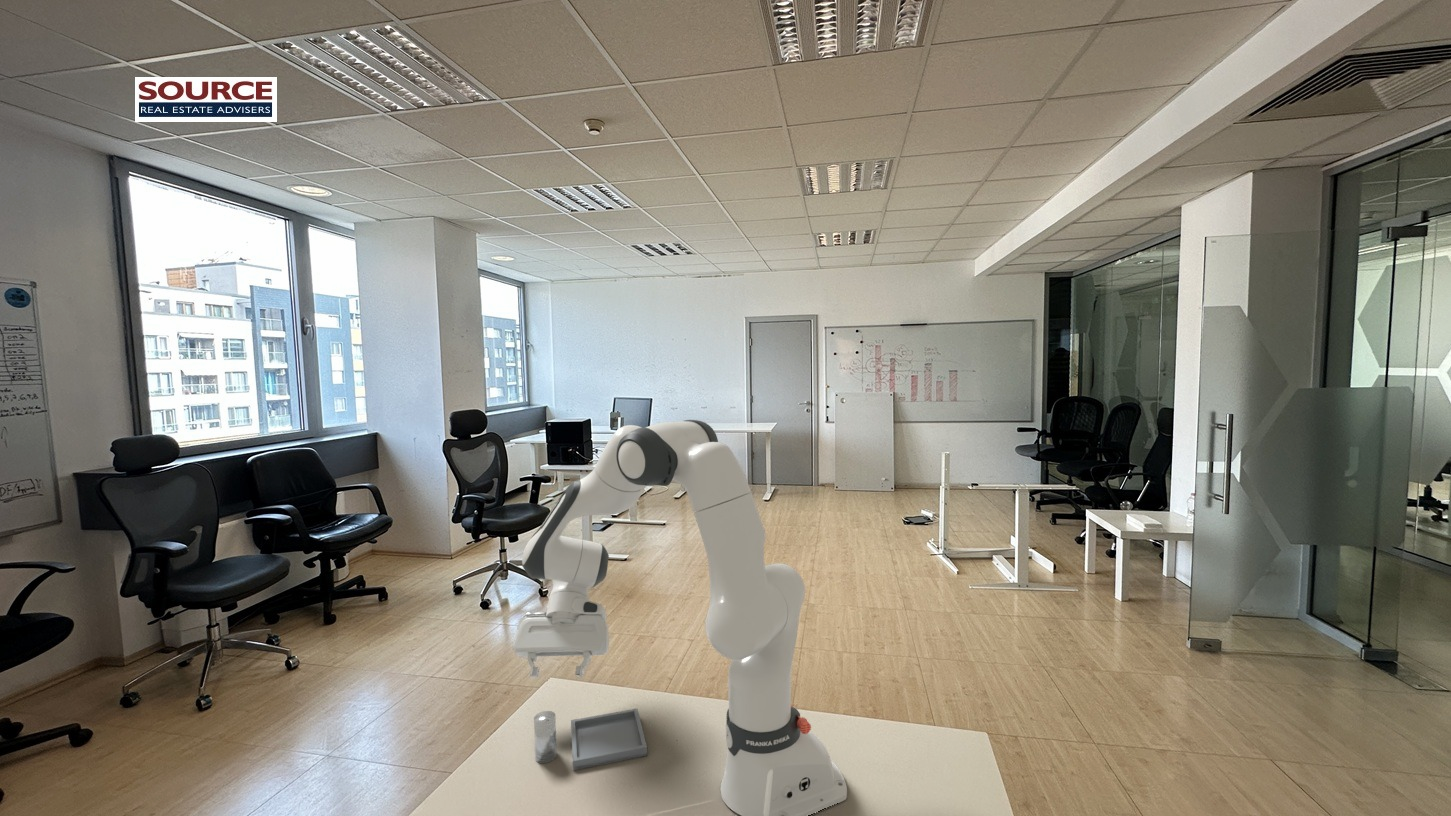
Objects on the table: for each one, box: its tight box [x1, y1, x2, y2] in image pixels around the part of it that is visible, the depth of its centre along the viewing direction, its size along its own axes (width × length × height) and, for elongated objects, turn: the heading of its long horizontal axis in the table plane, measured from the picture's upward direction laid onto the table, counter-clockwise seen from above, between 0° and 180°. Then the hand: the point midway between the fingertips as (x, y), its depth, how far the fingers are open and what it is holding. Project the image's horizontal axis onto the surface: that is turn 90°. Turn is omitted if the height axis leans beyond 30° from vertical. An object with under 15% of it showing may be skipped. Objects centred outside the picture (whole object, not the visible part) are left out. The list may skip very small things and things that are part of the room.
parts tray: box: [570, 708, 648, 771], centre depth 117 cm, size 14×14×2 cm
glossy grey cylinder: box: [533, 710, 557, 764], centre depth 112 cm, size 4×4×8 cm
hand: (556, 676), depth 120 cm, fingers open, 8 cm apart
